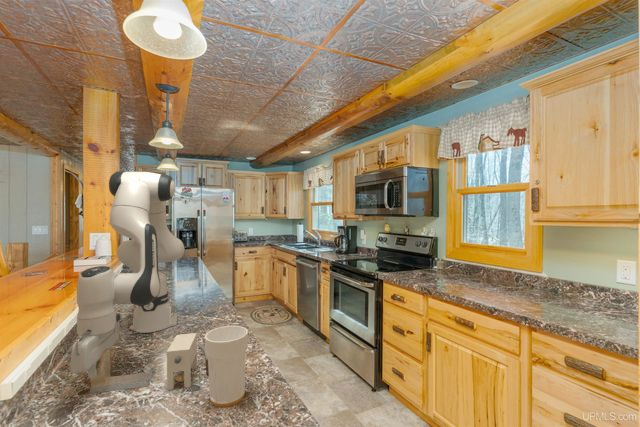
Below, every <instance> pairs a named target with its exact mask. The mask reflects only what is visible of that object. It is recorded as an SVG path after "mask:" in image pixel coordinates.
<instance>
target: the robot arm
mask: <svg viewBox="0 0 640 427" xmlns="http://www.w3.org/2000/svg"><path fill="white" fill-rule="evenodd" d="M108 189H109V192H110V194H111V195H112V196H113V197H114V198H113V201H112V204H111V209H110V214H109V224H110V226H111V228H112V229H113V230H114V231H115V232H116V233H117V234H119V235H121V236H124V237H126V238H129V239H130V240H125V241H122V242H121V243H120V244H119V246H117V250H116V256H117V258H118V260H119V262H120V263H121V264H123V265H125V266H126V267H128V268H129V269H130V270H131V272H116V271H114V270H112V267H110V266H106V265H99V266H94V267H89V268H87V269H85V270H82V271H81V272H80V274H79V276H78V279H77V284H76V285H77V286H76V304H77V306H78V310H77V314H76V330H77V331H76V332H77V333H76V334H77V335H78V338H77V341H75V342H74V343H73V345H72V348H71V354H70V365H69V366H70V368H69V369H70V372H71V373H73V374H80V373H86V372H87V376H88V378H89V379H91V378H94V377H95V376H96V375H97V374H98V369H96V366H95V365H96V362H97V361H98V360H99V359H100V358H101V353H102V352H104V351H105V350H106V349H107V348H110V349H111V348H113V346H115V345H116V343H118V341H119V338H120V329H121V328H120V325H121V324H120V321H121V319H122V314H121V313H120V312H116V309H115V306H114V305H134V306H136V307H135V308H134V309H133V321H132V324H131V325H130V326H129V330H132V331H134V332H136V333H141V334H142V333H143V334H144V333H147V334H149V333H154V332H159V331H162V330H165V329H167V328H170V327H171V328H172V327H174V326H177V325H178V312H177V313H176V312H173V304H172V303H171V302H170V301H169V299H170V298H169V297H170V296H169V292H170V291H169V290H168V281H167V276H166V274H165V273H164V272H162V271H159V264H160V263H161V264H163V263H171V262H175V261H179V260H181V259H182V257H183V256H184V254H185V244H184V242H183V241H182V240H181V239H179V237H176V236H175V235H174V234H173V233H172V232H171V231H170V229H169V227H168V224H167V216H166V214H167V212H166V202H167V201H170V200H171V199H172V198H173V196H174V195H175V191H176V183H175V180H174V178H173V177H172V176H171V175H169V174H164V173H161V174H160V173H155V172H149V171H126V170H120V171H115V172H114V173H113V174H111V176H110V177H109V180H108Z"/></svg>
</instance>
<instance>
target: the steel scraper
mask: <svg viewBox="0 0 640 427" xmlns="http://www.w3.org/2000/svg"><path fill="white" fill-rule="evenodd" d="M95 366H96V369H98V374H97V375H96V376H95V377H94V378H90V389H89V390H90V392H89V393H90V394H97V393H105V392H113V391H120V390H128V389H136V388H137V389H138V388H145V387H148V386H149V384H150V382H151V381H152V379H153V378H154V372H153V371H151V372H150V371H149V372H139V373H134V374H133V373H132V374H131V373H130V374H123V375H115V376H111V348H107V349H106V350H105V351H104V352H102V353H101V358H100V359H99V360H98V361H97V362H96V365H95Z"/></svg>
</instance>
